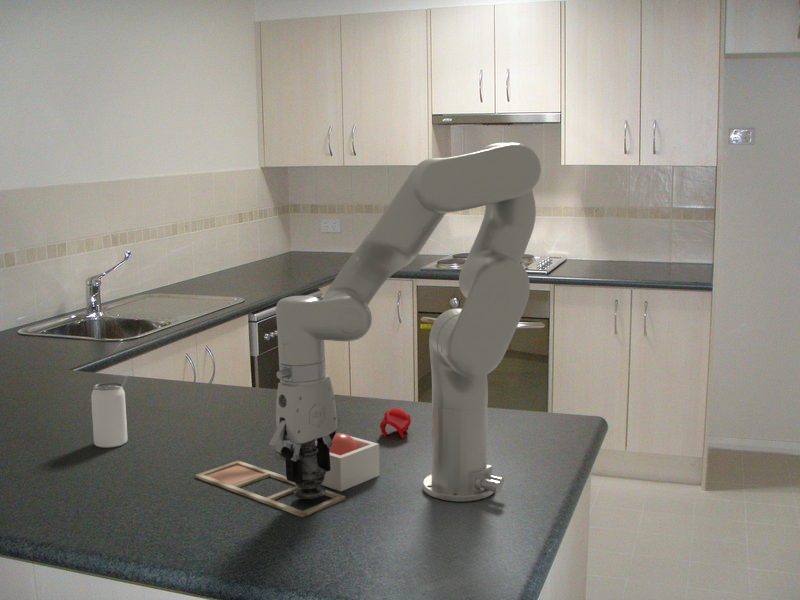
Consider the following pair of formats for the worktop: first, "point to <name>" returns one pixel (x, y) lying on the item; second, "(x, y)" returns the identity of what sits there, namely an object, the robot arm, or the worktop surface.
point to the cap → (395, 421)
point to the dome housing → (353, 466)
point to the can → (109, 415)
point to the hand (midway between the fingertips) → (308, 474)
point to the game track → (245, 474)
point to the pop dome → (342, 444)
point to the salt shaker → (310, 473)
